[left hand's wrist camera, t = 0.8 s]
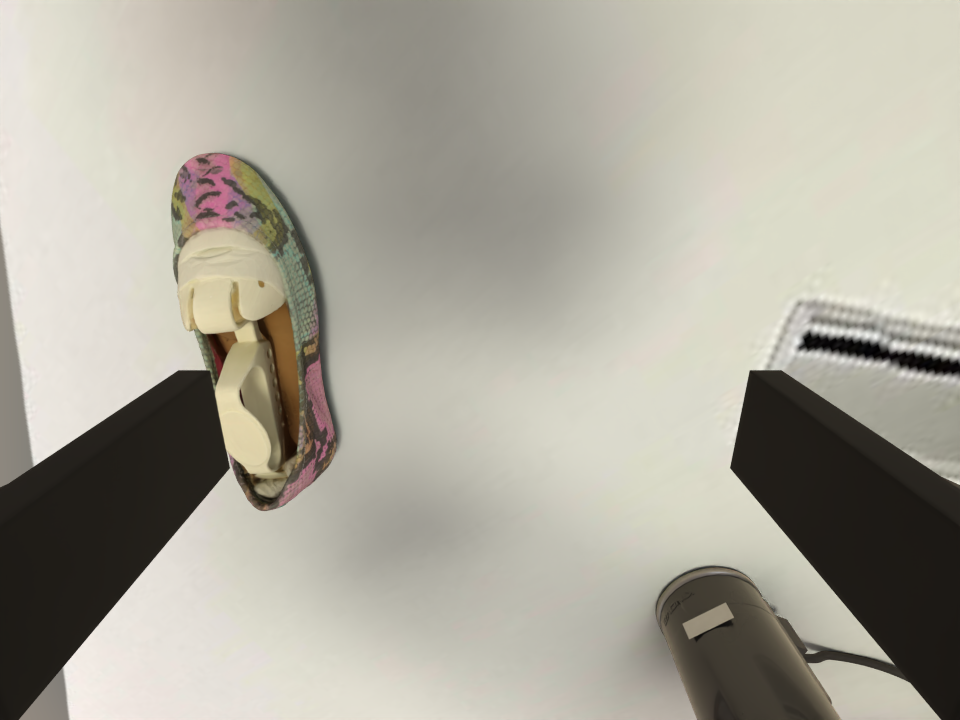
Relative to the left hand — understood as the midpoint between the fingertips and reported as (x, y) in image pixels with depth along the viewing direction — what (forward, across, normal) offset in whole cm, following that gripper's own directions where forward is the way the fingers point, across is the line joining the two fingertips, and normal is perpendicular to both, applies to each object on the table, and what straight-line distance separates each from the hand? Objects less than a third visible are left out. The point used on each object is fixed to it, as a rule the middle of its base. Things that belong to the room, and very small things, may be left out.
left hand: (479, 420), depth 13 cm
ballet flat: (+25, -15, -5) cm, 29 cm away
